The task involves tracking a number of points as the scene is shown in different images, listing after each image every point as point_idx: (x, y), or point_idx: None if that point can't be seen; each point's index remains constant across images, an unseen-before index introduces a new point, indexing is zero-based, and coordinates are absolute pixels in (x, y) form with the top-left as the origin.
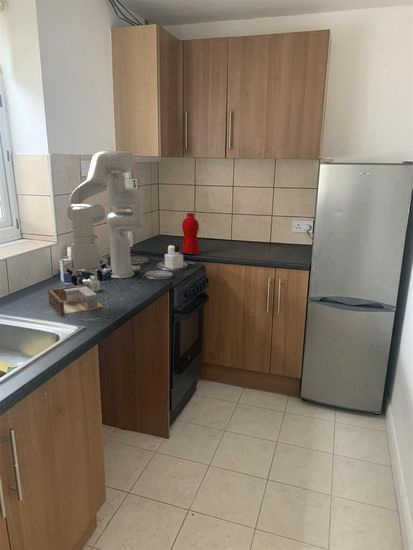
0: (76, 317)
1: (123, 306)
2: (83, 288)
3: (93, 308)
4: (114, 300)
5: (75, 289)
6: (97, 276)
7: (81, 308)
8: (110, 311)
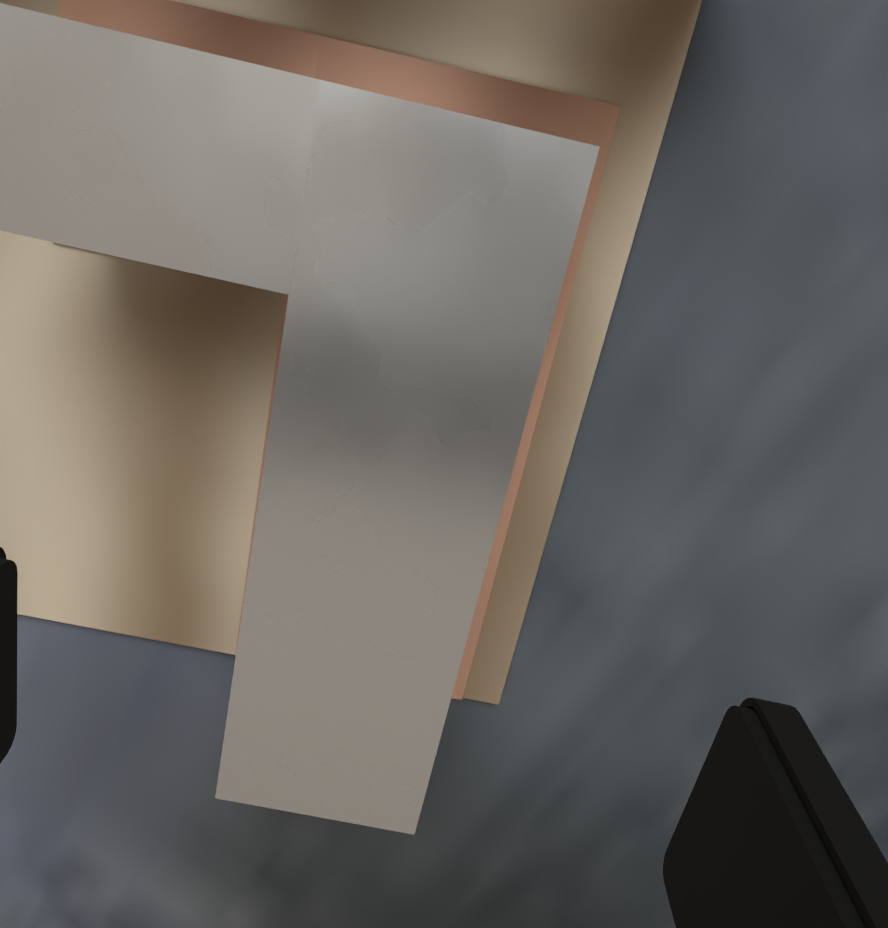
0: (46, 758)
1: None
2: (423, 301)
3: None
4: (810, 564)
5: (222, 234)
6: (759, 815)
7: (211, 577)
8: (474, 855)
